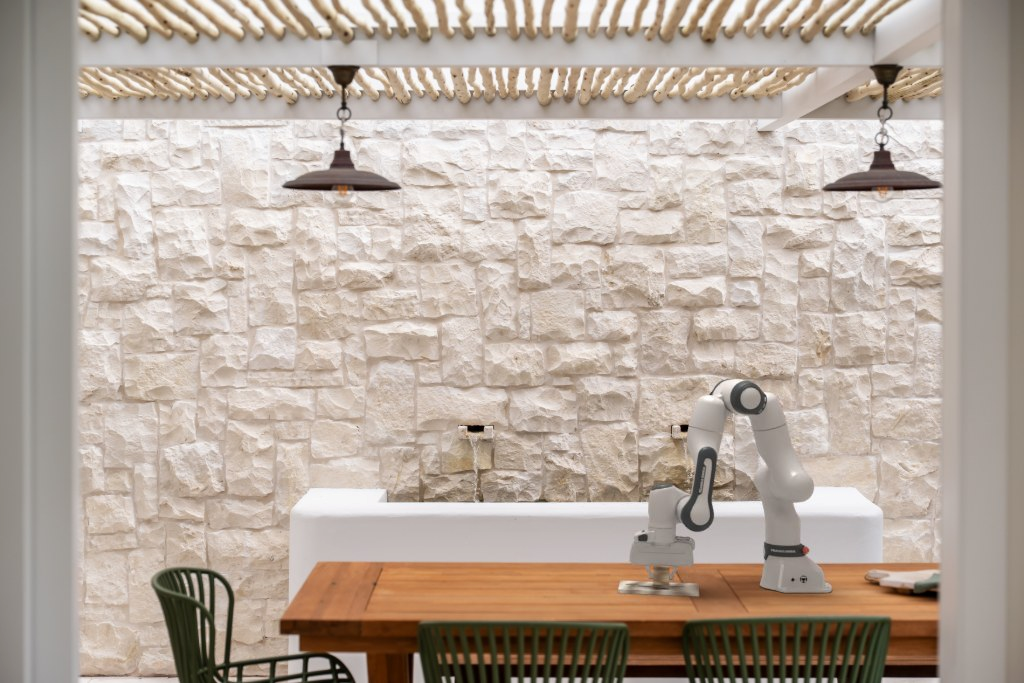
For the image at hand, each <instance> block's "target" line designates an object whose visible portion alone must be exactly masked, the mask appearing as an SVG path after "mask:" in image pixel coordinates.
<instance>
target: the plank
mask: <svg viewBox="0 0 1024 683" xmlns="http://www.w3.org/2000/svg"><path fill="white" fill-rule="evenodd" d="M617 594H627V595H628V594H629V595H630V594H631V595H632V594H634V595H651V596H652V595H654V596H655V595H657V596H679V597H680V596H682V597H700V588H699V583H694V582H693V583H692V582H691V583H690V582H670V581H669V588H660V587H653V581H643V580H641V581H639V580H621V579H620V580H619V585H618V589H617Z"/></svg>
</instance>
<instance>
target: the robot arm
mask: <svg viewBox="0 0 1024 683" xmlns="http://www.w3.org/2000/svg"><path fill="white" fill-rule="evenodd" d="M731 414H737V415H738V414H739V415H740V414H741V415H744V416H748V419H749V421H750V425H751V430H752V433H753V437H754V442H755V445H756V446H755V447H756V450H757V453H758V455H759V456H760V457H761V459H762V460H763V461H764V463H765V465H761V467H759V468H757V470H755V474H754V476H753V477H754V478H753V483H754V487H755V489H756V490H757V491H758V493H759V496H760V500H761V503H762V504H761V505H762V508H763V513H764V523H765V524H764V525H765V528H764V529H765V534H764V536H765V539H764V540H765V541H764V542H763V552H762V553H763V569H762V575H761V580H760V583H759V586H760V587H762V588H763V589H768V590H772V591H777V592H779V593H786V594H787V593H788V594H789V593H795V594H797V593H798V594H799V593H804V594H805V593H806V594H808V593H809V594H811V593H818V594H820V593H823V594H824V593H825V594H826V593H828V594H829V593H830V592H832V591H833V587H832V585H831V583H829V582H827V581H826V578H825V573H824V571H823V569H822V567H821V566H819V565H818V564H817V563H816V562H815V561H814V560H812V559H811V558H810V557H809V556H808V555H807V554H809V553H810V550H811V549H809V547H808V546H806V545H805V544H803V543H801V518H800V516H799V515H798V513H797V511H796V509H795V503H796V504H797V503H803V502H806V501H808V500H809V499H810V498H811V497H812V496H813V494H814V491H815V482H814V480H813V478H812V476H811V475H810V474H809V473H807V471H806V470H805V468H804V466H803V464H802V463H801V460H800V458H799V456H798V455H797V452H796V450H795V448H794V445H793V443H792V439H791V435H790V432H789V427H788V424H787V420H786V416H785V413H784V410H783V407H782V404H781V402H780V400H779V399H778V397H777V396H776V394H775V393H772V392H770V391H763V390H762V388H760V387H759V385H757V384H756V383H755V382H753V381H750V380H745V379H741V378H727V379H722V380H721V381H719V382H717V383H716V384H715V386H714V387H713V388H712V390H711V392H710V393H709V394H707V395H706V394H705V395H702V396H700V397H698V399H697V401H695V404H694V407H693V410H692V413H691V416H690V420H689V424H688V426H687V427H688V429H687V433H686V448H687V450H688V452H689V454H690V456H691V459H692V460H693V465H694V466H693V467H694V474H693V480H692V487H691V493H688V492H685V491H683V490H681V489H680V488H678V487H676V486H675V485H674V484H673V483H662V484H656V485H655V486H653V487H652V488H651V489H650V491H649V496H648V507H647V508H648V510H647V511H648V512H647V513H648V517H649V519H648V523H647V528H646V529H643V530H642V529H641V530H638V531H636V532H635V533H634V534H633V539H634V541H632V543H631V546H630V550H629V551H630V552H629V562H630V564H631V565H643V566H644V565H645V566H644V567H645V570H646V572H647V574H648V580H653V572H651V570H650V567H651V566H669V567H672V569H673V571H672V572H671V573H670V572H669V581H675V579H674V578H675V575H676V573H677V571H678V567H692V566H694V550H695V549H696V541H695V540H694V538H692V537H691V536H682V535H681V536H680V535H677V524H682V525H683V526H684V527H685V528H686V529H687V530H689V531H691V532H694V533H700V532H701V533H702V532H704V531H706V530H707V529H709V528H710V526H712V525H713V522H714V521H715V520H714V519H715V511H714V506H713V492H714V491H713V490H714V484H715V479H716V478H715V477H716V471H717V470H716V469H717V463H718V459H719V458H718V457H719V454H720V453H719V452H720V449H721V445H722V444H721V443H722V440H723V436H724V435H723V434H724V431H725V425H726V422H727V420H728V418H729V416H730V415H731Z"/></svg>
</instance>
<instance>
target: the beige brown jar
mask: <svg viewBox="0 0 1024 683" xmlns="http://www.w3.org/2000/svg"><path fill="white" fill-rule="evenodd" d="M652 573H653V579H652V582H653V587H660V588H669V582H670V580H669V573H670V566H663V565H653V569H652Z"/></svg>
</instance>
